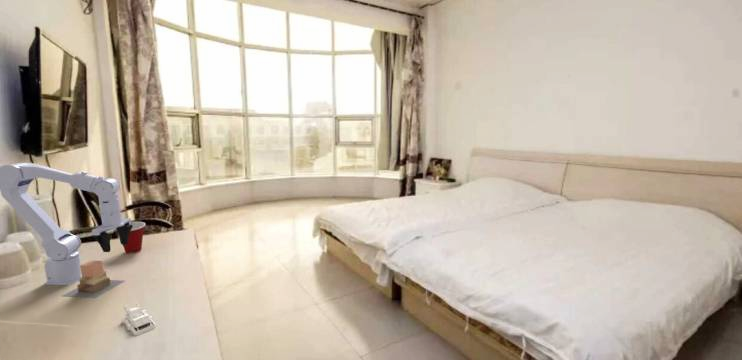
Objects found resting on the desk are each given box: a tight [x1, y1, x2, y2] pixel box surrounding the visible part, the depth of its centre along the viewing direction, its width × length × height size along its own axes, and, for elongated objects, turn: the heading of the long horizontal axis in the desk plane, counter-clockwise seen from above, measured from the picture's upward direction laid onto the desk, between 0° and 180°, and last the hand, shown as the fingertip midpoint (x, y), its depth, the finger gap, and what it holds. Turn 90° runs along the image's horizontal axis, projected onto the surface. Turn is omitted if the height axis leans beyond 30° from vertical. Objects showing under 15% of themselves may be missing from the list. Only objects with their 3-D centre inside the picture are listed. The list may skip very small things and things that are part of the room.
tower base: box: [76, 277, 111, 293], centre depth 114 cm, size 6×6×2 cm
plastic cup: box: [114, 221, 146, 254], centre depth 147 cm, size 11×11×12 cm
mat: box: [61, 279, 125, 299], centre depth 115 cm, size 12×12×1 cm
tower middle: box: [78, 270, 108, 285], centre depth 114 cm, size 5×5×2 cm
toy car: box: [121, 301, 157, 336], centre depth 95 cm, size 6×12×4 cm, turn 51°
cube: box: [80, 260, 104, 277], centre depth 113 cm, size 4×4×4 cm
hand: (115, 247), depth 124 cm, fingers open, 7 cm apart
